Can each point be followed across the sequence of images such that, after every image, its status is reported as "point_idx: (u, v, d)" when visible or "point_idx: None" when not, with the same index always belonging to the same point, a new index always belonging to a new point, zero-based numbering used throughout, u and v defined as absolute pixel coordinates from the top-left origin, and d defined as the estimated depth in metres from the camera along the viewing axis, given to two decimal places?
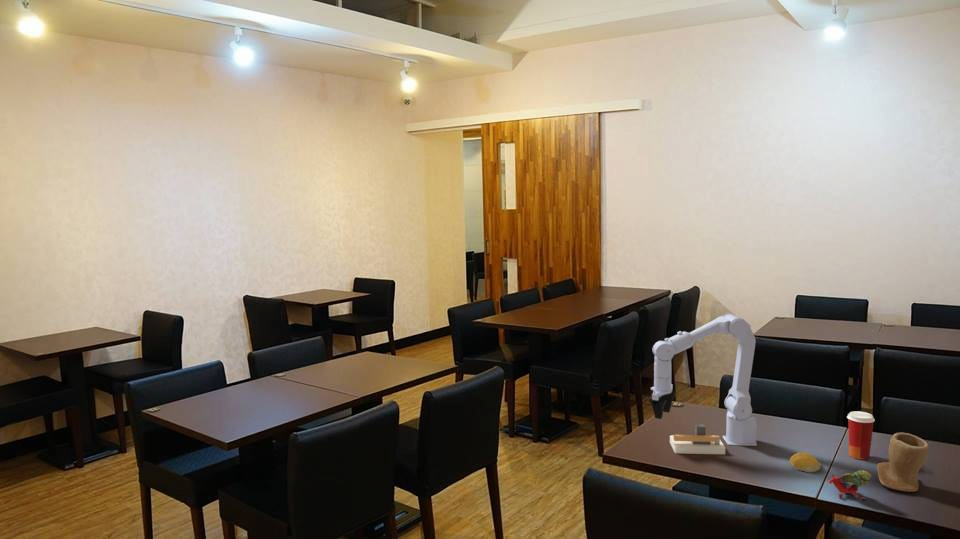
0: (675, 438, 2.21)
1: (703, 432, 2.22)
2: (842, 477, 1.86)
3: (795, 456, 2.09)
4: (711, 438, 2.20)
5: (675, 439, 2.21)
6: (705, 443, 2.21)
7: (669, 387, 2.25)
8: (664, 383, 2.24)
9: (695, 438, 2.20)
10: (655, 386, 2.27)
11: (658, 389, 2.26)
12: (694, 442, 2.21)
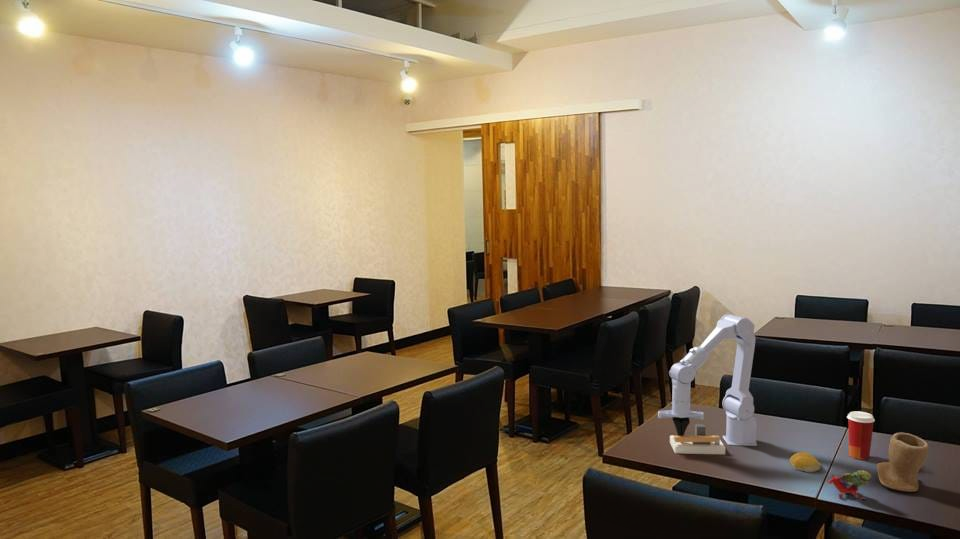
0: (676, 439, 2.20)
1: (703, 432, 2.22)
2: (842, 477, 1.86)
3: (795, 456, 2.09)
4: (711, 438, 2.19)
5: (676, 440, 2.20)
6: (705, 443, 2.21)
7: (679, 411, 2.19)
8: (674, 405, 2.20)
9: (696, 439, 2.20)
10: None
11: (672, 410, 2.22)
12: (694, 442, 2.21)
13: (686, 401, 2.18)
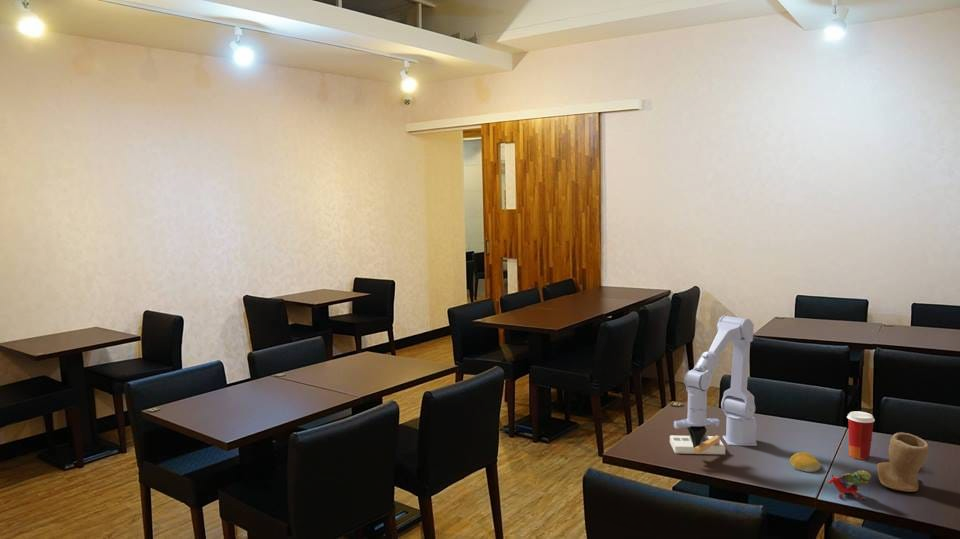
0: (699, 450, 2.10)
1: None
2: (842, 477, 1.86)
3: (795, 456, 2.09)
4: (716, 440, 2.18)
5: (699, 451, 2.10)
6: None
7: (698, 420, 2.10)
8: (691, 414, 2.11)
9: (709, 444, 2.15)
10: None
11: (687, 419, 2.13)
12: None
13: (704, 409, 2.11)
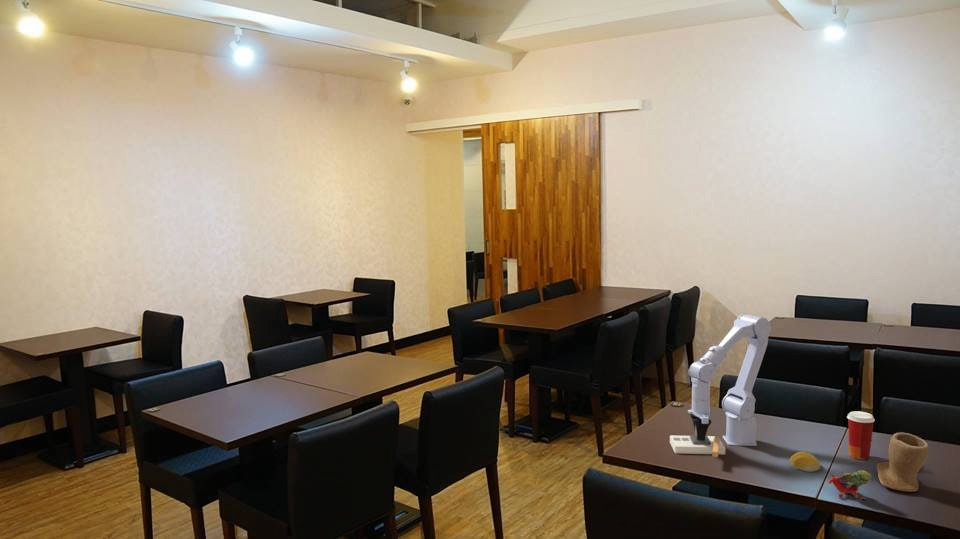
0: (717, 453, 2.07)
1: None
2: (842, 477, 1.86)
3: (795, 456, 2.09)
4: (719, 440, 2.18)
5: (717, 455, 2.07)
6: (705, 443, 2.21)
7: (709, 408, 2.21)
8: (707, 405, 2.19)
9: (718, 446, 2.13)
10: (696, 409, 2.20)
11: (701, 412, 2.19)
12: (694, 442, 2.21)
13: None
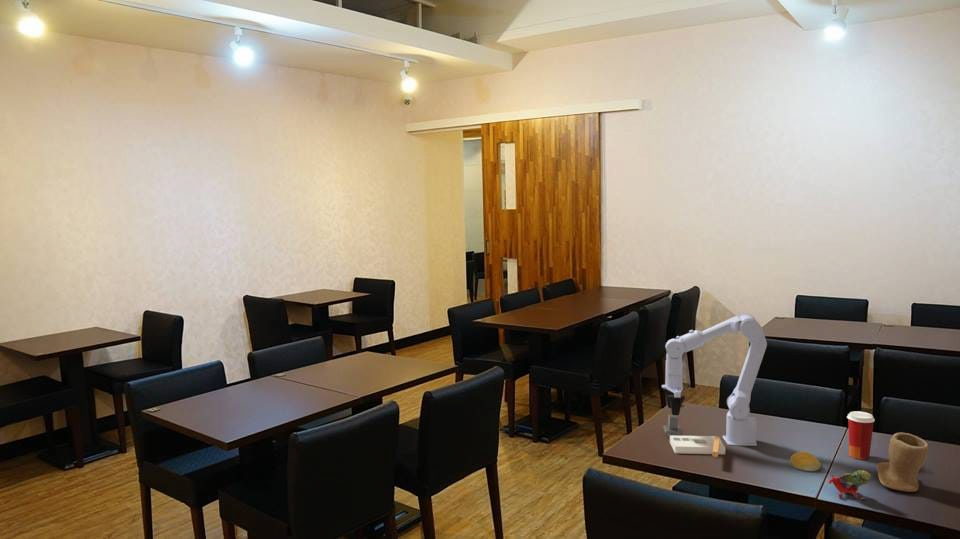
0: (717, 453, 2.07)
1: (675, 422, 2.32)
2: (842, 477, 1.86)
3: (795, 455, 2.09)
4: (719, 440, 2.18)
5: (717, 455, 2.07)
6: (677, 432, 2.31)
7: None
8: (679, 380, 2.29)
9: (718, 446, 2.13)
10: (670, 384, 2.30)
11: (674, 386, 2.29)
12: (667, 431, 2.31)
13: None
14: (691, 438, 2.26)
